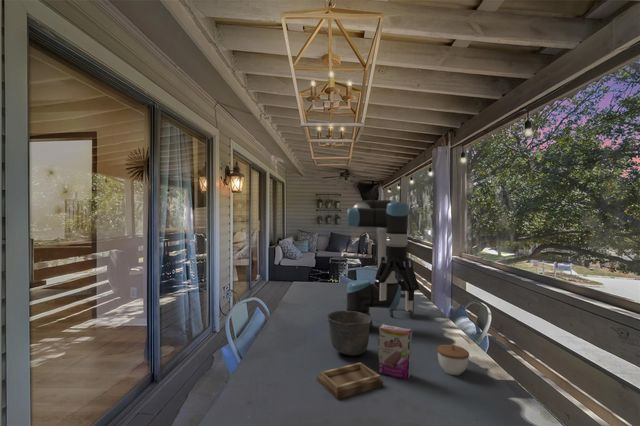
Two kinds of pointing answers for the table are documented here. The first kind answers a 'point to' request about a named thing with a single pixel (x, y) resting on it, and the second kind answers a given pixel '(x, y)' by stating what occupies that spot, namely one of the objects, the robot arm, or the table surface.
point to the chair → (403, 288)
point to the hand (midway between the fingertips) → (395, 304)
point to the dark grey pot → (349, 331)
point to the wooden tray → (349, 380)
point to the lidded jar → (453, 359)
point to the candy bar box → (394, 351)
